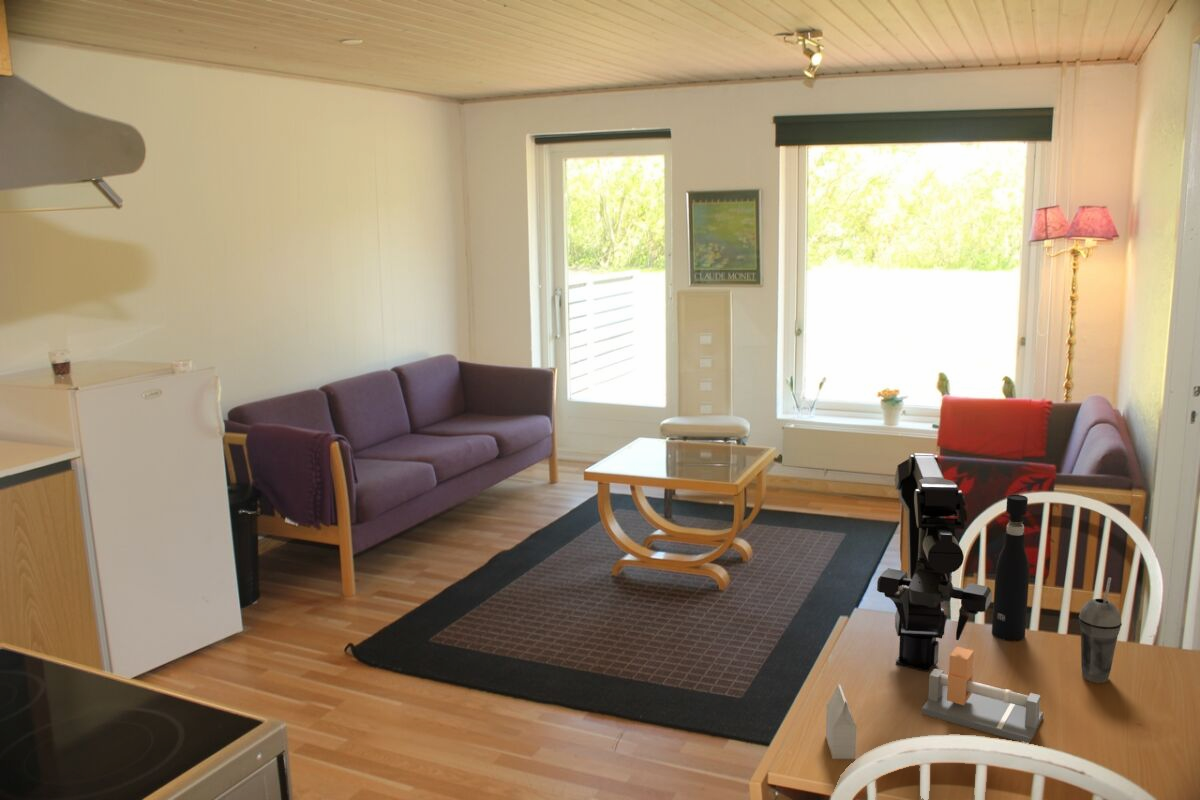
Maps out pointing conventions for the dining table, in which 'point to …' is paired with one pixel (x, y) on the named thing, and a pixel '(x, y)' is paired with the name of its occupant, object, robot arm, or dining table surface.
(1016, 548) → the black water bottle
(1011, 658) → the dining table surface
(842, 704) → the grey gable top carton
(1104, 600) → the beverage cup
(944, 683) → the rail stand
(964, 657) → the collar
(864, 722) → the dining table surface
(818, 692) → the dining table surface
